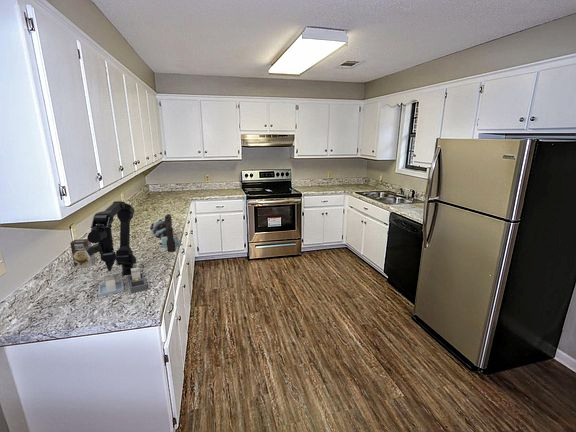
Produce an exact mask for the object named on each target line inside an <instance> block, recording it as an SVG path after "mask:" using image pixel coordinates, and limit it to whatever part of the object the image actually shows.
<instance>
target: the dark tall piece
mask: <svg viewBox="0 0 576 432" xmlns="http://www.w3.org/2000/svg"><path fill="white" fill-rule="evenodd" d="M164 220H165V223H166V234H165V236H162V237H160V238H161V242H159V246H158V247H159V248H160V249H161V248H162V249H166V248H167V253H174V252H176V248H177V247H181V246H184V245H183V243H181V242H180V240H179V238H178V237H177V236H174V232H173V231H174V229H172V228H173V226H172V225H173V221H172V215H171V214H170V213H167V214H166V215H165V216H164Z"/></svg>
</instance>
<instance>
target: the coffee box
mask: <svg viewBox="0 0 576 432" xmlns="http://www.w3.org/2000/svg"><path fill="white" fill-rule="evenodd" d="M69 244H70V248H71V255H72V261H73V267H74V269H80V268H90V267H91V268H92V266H93V265H94V264H95V260H94V259H95V258H94V254H93V255H91V256H89V255H88V253H87V251H86V248H88V247H90V246H93V243H91V242H90V241H89V240H88V238H83V239H73V240H72V241H71V242H70V243H69Z"/></svg>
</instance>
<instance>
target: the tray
mask: <svg viewBox="0 0 576 432" xmlns="http://www.w3.org/2000/svg"><path fill="white" fill-rule="evenodd" d="M115 285H116V290H113V291H108V292H107V289H106V283H102V284H98V285H97V286H98V289H97V290H98V297H99V298H100V297H101V298H102V297H105V296H109V295H114V294H119V293H123V292H125V289H124V287H125V286H124V282H123V279H122V280H118V281H115Z"/></svg>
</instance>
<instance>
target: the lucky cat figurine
mask: <svg viewBox="0 0 576 432" xmlns="http://www.w3.org/2000/svg"><path fill="white" fill-rule="evenodd" d="M172 229H173V227H172ZM149 230H150V231H151V232H152V234H154V236H155V238H157V239H158V238H159V239H160V238H161V237H165V236H166V223H165V219H163V220H162V219H160V218H159V220H157V221H155V222H154V223H153V222H152V223H151V225H150V226H149ZM173 230H174V229H173Z"/></svg>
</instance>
